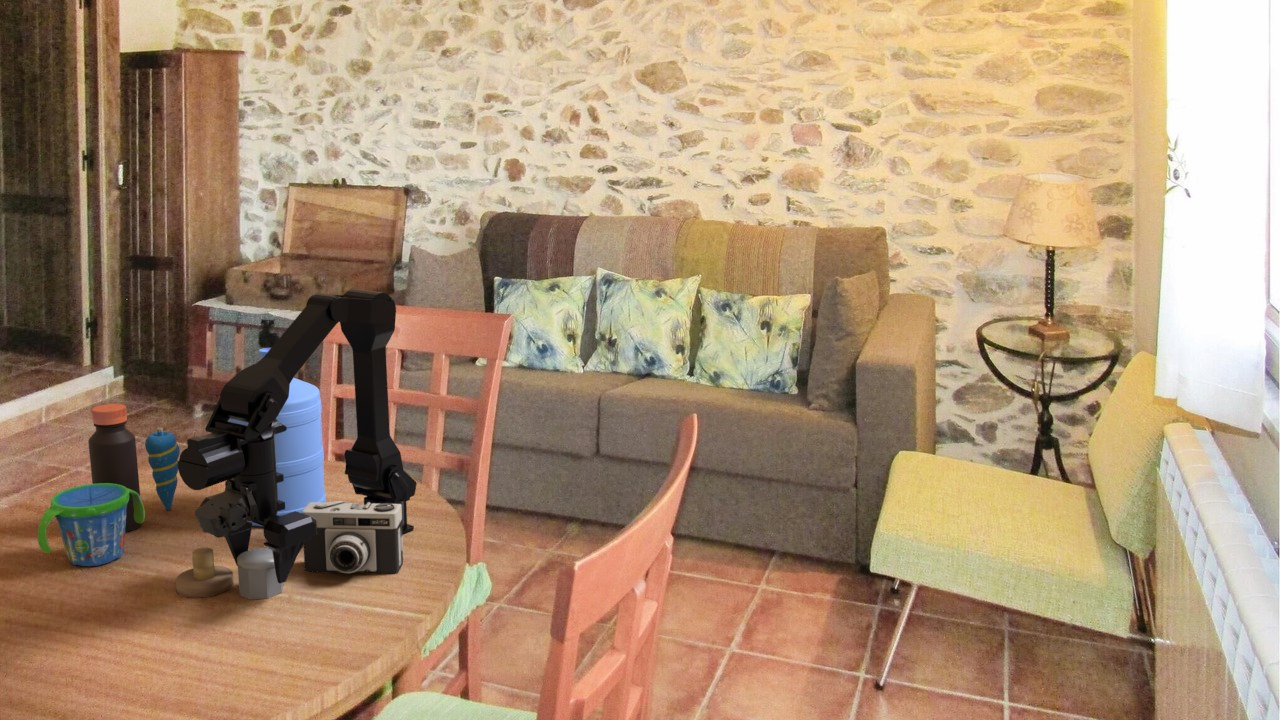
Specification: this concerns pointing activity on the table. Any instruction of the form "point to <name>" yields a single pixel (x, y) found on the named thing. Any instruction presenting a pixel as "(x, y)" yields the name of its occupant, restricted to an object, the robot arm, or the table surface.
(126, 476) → the bottle
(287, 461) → the water jug
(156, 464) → the ornament
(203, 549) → the stub
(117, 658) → the table surface
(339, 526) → the camera
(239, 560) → the cap
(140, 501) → the snack cup
